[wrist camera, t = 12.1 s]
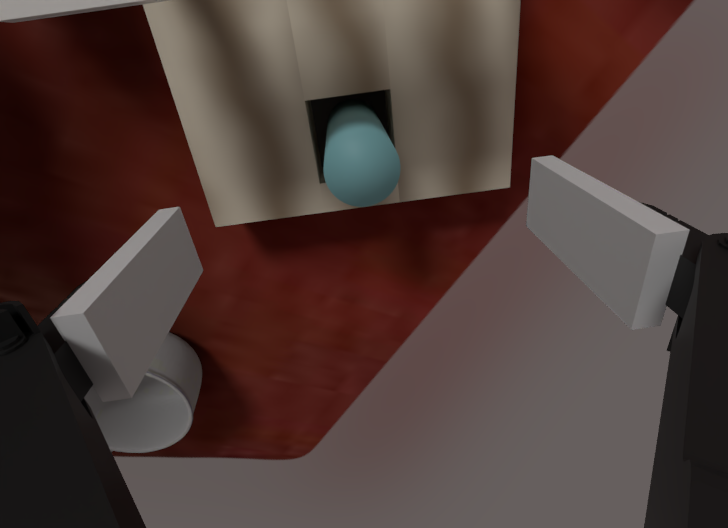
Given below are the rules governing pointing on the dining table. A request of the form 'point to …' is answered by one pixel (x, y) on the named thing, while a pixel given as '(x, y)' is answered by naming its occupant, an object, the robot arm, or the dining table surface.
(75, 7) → the grey piece
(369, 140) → the peg
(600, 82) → the dining table surface
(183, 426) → the teacup
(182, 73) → the socket block
